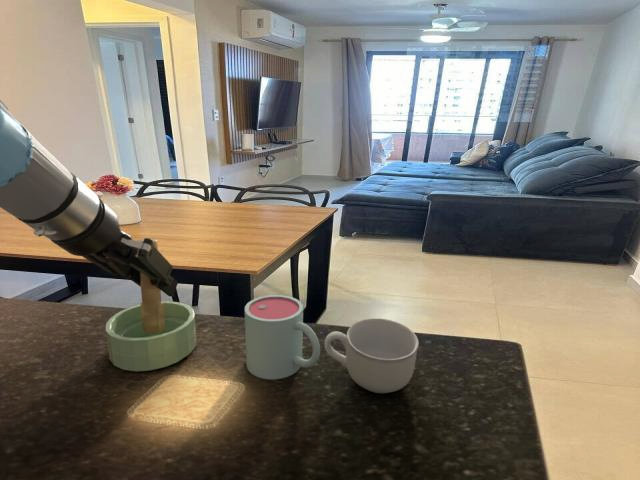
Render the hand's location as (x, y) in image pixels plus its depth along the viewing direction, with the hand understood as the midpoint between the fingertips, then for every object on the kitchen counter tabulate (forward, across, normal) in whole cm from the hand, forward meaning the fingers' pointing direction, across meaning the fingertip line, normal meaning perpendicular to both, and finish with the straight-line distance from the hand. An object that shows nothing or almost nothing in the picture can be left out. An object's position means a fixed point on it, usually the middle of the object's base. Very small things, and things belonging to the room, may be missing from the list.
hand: (164, 288), depth 68 cm
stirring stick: (+2, 0, -7) cm, 7 cm away
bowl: (+3, +1, -10) cm, 11 cm away
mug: (+4, +24, -10) cm, 26 cm away
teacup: (+4, +37, -9) cm, 39 cm away
